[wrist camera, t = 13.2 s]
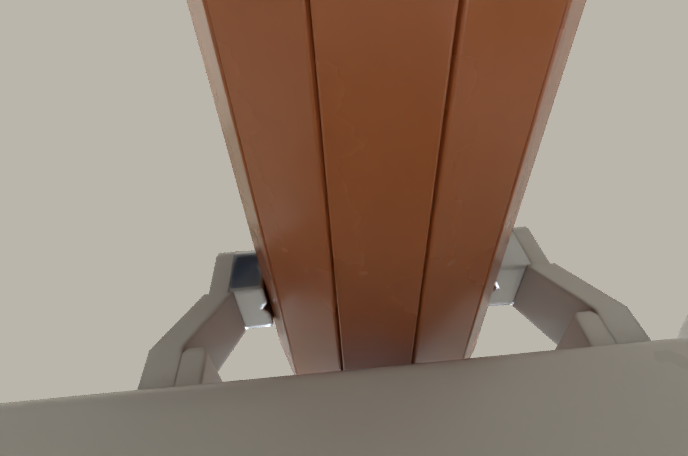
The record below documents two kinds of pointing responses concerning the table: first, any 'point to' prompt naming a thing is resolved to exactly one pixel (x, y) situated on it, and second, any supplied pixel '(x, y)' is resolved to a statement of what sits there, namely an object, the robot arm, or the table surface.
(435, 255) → the orange cup
